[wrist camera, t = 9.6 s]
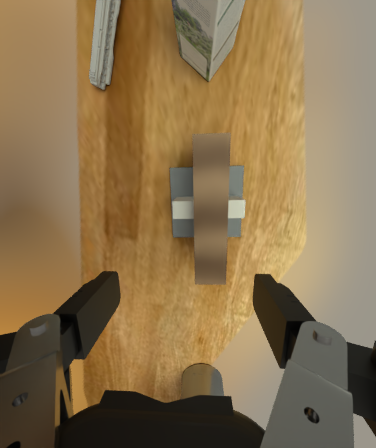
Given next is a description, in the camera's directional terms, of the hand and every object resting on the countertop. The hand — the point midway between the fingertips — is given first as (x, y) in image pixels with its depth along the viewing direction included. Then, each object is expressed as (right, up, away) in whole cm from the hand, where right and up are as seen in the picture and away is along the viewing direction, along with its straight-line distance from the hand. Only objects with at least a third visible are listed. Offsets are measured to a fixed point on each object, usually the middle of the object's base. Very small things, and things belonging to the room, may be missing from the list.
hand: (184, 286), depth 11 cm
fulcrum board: (+3, +7, +21) cm, 23 cm away
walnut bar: (+3, +5, +15) cm, 16 cm away
